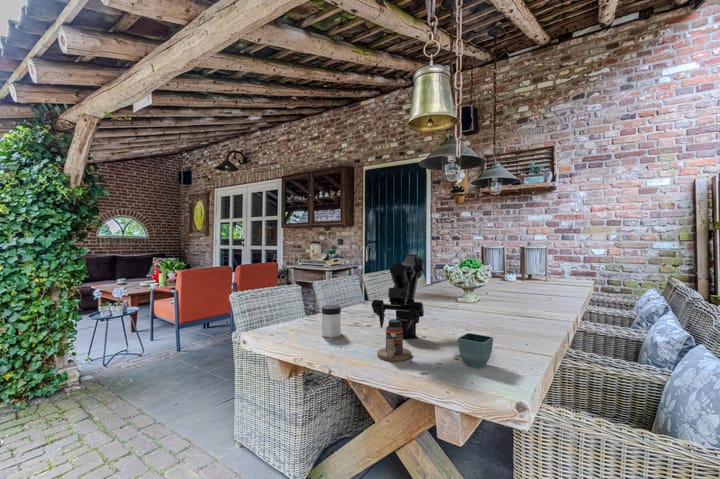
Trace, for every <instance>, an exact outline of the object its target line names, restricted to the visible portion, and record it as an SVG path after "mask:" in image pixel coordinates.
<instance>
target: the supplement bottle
mask: <svg viewBox="0 0 720 479" xmlns="http://www.w3.org/2000/svg"><path fill="white" fill-rule="evenodd" d="M385 328H386V329H385V348H386V352H387V339H394V355H398V354H401V353H402V352H403V348H404V339H403V328H402V327H401V325H400V320H396V319H395V318H394V319H388V325H387V326H386V327H385Z"/></svg>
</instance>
